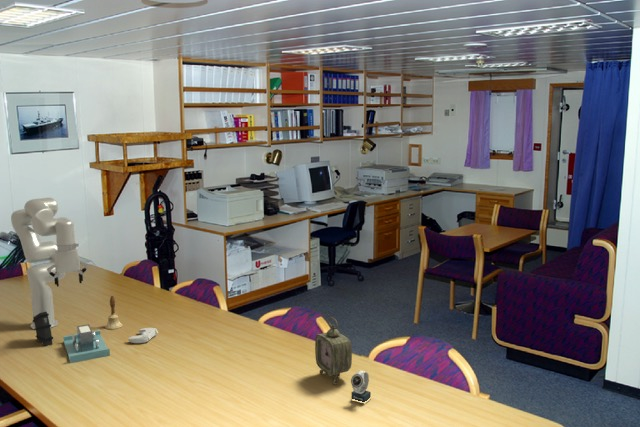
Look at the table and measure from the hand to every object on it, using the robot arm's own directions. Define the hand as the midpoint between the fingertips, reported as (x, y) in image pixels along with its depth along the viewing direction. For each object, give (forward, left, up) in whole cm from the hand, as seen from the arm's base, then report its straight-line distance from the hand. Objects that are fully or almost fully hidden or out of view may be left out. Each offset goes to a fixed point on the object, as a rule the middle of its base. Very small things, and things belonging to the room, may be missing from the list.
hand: (69, 284), depth 261 cm
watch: (+112, +85, -28) cm, 143 cm away
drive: (+10, +4, -27) cm, 29 cm away
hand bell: (-13, +20, -29) cm, 37 cm away
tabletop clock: (+91, +86, -28) cm, 128 cm away
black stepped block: (-9, -12, -28) cm, 32 cm away
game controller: (+11, +30, -29) cm, 43 cm away
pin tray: (+10, +4, -28) cm, 30 cm away
